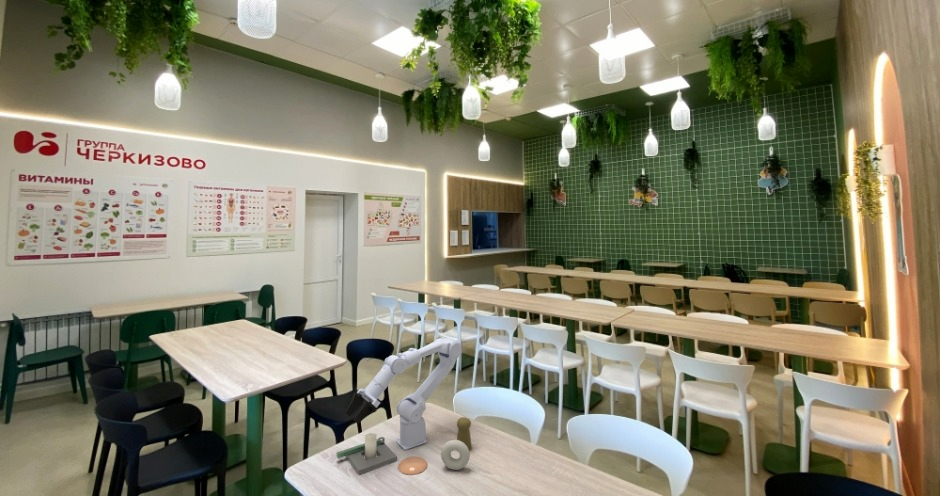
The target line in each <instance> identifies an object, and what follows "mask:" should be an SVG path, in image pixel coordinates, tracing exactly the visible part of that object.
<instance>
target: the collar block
mask: <svg viewBox="0 0 940 496" xmlns="http://www.w3.org/2000/svg"><path fill="white" fill-rule="evenodd" d="M376 448H377V457H374V458H371V459H368V460H366V459H365V450H362V451H359V452H356V453H353V454H350V455H347V456H345V458H346V459H347V461H348V462H349V463H350V465H351V466H352V468H353V469H354V470H355V471H356V473H357V475H358V476H360V475H363V474H365V473H368V472H370V471H371V472H372V471H374V470H375V469H379V468H381V467H383V466H387V465H389V464H392V463H395V462H397V461H398V455H396V453H395V452H394V451H393V450H392V449H391V448H390V447H389V446H388V445H387V444H386V443H384V444H382V445H377V446H376Z"/></svg>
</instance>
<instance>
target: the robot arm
mask: <svg viewBox="0 0 940 496" xmlns="http://www.w3.org/2000/svg"><path fill="white" fill-rule="evenodd" d="M437 353H438V354H437ZM434 354H437V355H438V358H439V363H438V364H437V365H436V367H435V368H434V369H433V370H432V371H431V372H430V373H429V375H428V376H427V378H425V380H424V381H422V383H421V385H420V386H419V387H418V388H417V390H415V392H413V393H410V394H409V393H408V394H407V396H406V397H404V398H403V399H400V401H399V402H398V403H397V405H396V412H397V414H398V415H399V438H396V439H395V442H396V444H398V445H399V447H401V448H402V449H403V450H404V451H407V450H410V449H413V448H415V447H419V446H420V445H424V444H426V443H427V440H426V439H427V438H426V437H427V436H426V435H427V431H426V429H427V428H426V426H427V425H426V421H425V419H424V417H423V414H424V412H425V411H426V409H427V407H426V401H428V399H429V398H430V397H431V396H432V394H434V392H435V391H436V389H437V388H438V387H439V386H440V385H441V383H442V382H443V381H444V380H445V379H446V377H447V376H448V375H449V373H450V372H451V371H452V369H454V366H455V364H456V363H457V360H458V358H459V357H460V356H461V355H462V344H461V342H460V341H457V340H454V339H453V340H452V339H451V338H448V337H446V336H442V337H440V338H437V339H435V341H433V342H431V343H429V344H427V345H425V346H422V347H420V348H419V349H417V348H416V347H415V348H413V347H410V348H408V350H407V351H403V352H399V353H397V354H396V355H395V354H392V355H389V356H388V357H386V358H385V359H384V362H383V365H382V366H381V369H380V370H379V371H378V372H377V374H376V375H375V376H374V377H373V378H372V380H371V381H370V382H369V383H368V385H367V386H365V388H359V389H358V390H357V392H355V391H354V392H353V393H352V397H351V401H350V403H349V405H348V407H347V409H346V411H345V414H346V415H347V416H349V417H351V416H352V415H353V414H354V413H355V412H356V411H357V410H358V409H359V410H358V412H356V415H354V418H353V421H354V422H356V424H360V423H361V422H362V421H363V420H364V419H366V418H367V417H368V416H371V415H372V414H373V413H376V412H377V411H378V410H377V408H378V407H379V405H380V404H381V402H380V401H379V400H378V399H379V398H380V397H381V395H382V394H383V393H384V391H385V390H386V389H387V387H388V386H389V385H390V384H391V383H392V381H393V380H394V379H395V377H396V376H397V375H400V374H403V373H404V372H405V370H406V369H407V368H410V367H411V366H414V365H416V364H418V363H420V362H421V360H422V358H425V357H427V356H431V355H434Z"/></svg>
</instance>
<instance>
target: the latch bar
mask: <svg viewBox="0 0 940 496" xmlns="http://www.w3.org/2000/svg"><path fill="white" fill-rule="evenodd" d="M385 440H386V438H385V437H384V436H380V437H378V438H376V446H377V445H382V444H384V443H385V442H386V441H385ZM385 444H386V443H385ZM362 450H365V442H364V443H361V444H358V445H355V446H353V447H350V448H346V449H344V450H343V449H342V450H340V451H337V452H336V458H337V459H341V458H345V457H346V456H347V455H350V454H353V453H356V452H359V451H362Z"/></svg>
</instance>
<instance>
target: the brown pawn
mask: <svg viewBox="0 0 940 496" xmlns="http://www.w3.org/2000/svg"><path fill="white" fill-rule="evenodd" d="M471 424H472V423H471V420H470V419H469V417H460V418H458V420H457V422H456V427H457V428H458V429H457V435H456V440H459V441H461V442H463V443H464V444H465V445H466V446H467V447H468V449H469V452H470V451H471V450H472V449H473V448H472V440H471V432H470V431H471V430H470V427H471Z"/></svg>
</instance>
